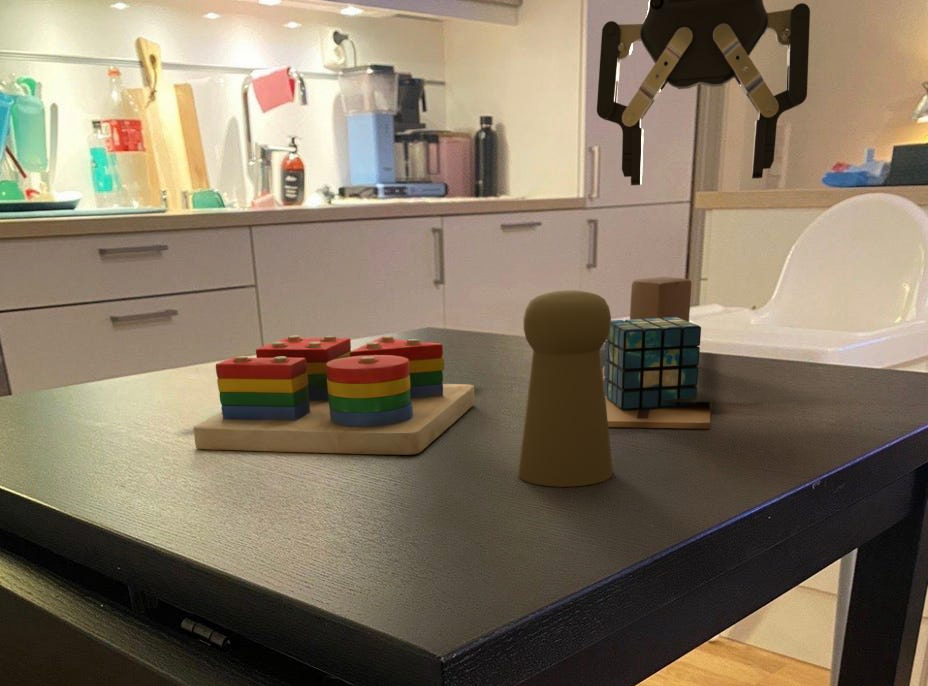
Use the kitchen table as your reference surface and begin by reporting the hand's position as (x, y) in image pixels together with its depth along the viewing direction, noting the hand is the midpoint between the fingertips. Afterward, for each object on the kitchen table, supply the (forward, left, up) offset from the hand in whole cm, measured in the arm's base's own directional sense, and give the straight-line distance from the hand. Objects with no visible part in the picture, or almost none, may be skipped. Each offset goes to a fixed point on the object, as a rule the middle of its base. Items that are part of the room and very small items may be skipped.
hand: (695, 181), depth 71 cm
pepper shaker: (+7, +20, -17) cm, 27 cm away
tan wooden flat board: (+3, -7, -17) cm, 18 cm away
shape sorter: (+26, +8, -17) cm, 32 cm away
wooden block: (+3, -14, -16) cm, 22 cm away
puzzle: (+3, 0, -16) cm, 16 cm away
